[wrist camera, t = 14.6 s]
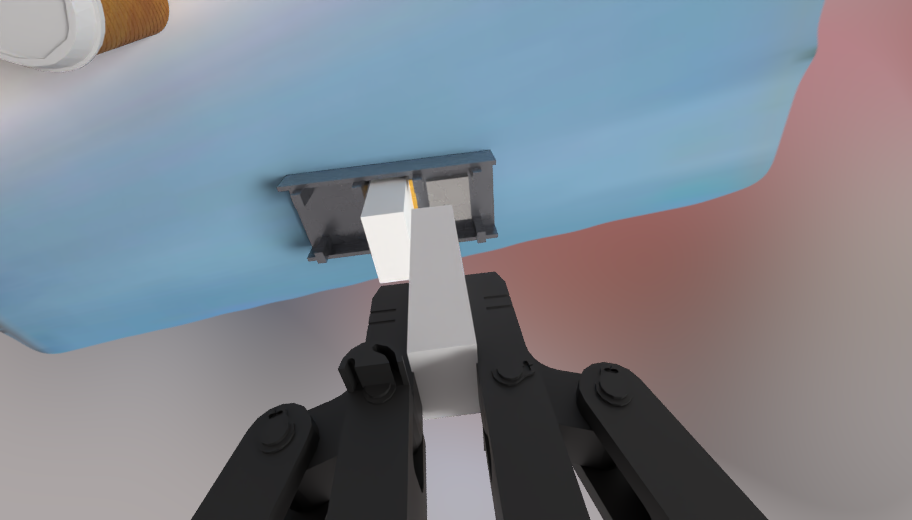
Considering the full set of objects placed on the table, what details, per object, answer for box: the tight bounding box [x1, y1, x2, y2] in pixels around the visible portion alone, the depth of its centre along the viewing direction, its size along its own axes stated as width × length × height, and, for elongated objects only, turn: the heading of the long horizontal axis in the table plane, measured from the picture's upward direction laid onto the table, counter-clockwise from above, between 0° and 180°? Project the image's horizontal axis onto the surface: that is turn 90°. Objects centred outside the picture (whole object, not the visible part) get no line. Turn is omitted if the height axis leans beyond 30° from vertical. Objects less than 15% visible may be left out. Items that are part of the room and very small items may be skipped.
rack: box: [276, 150, 498, 264], centre depth 41 cm, size 24×11×5 cm, turn 96°
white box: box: [361, 176, 414, 283], centre depth 38 cm, size 4×8×10 cm, turn 6°
